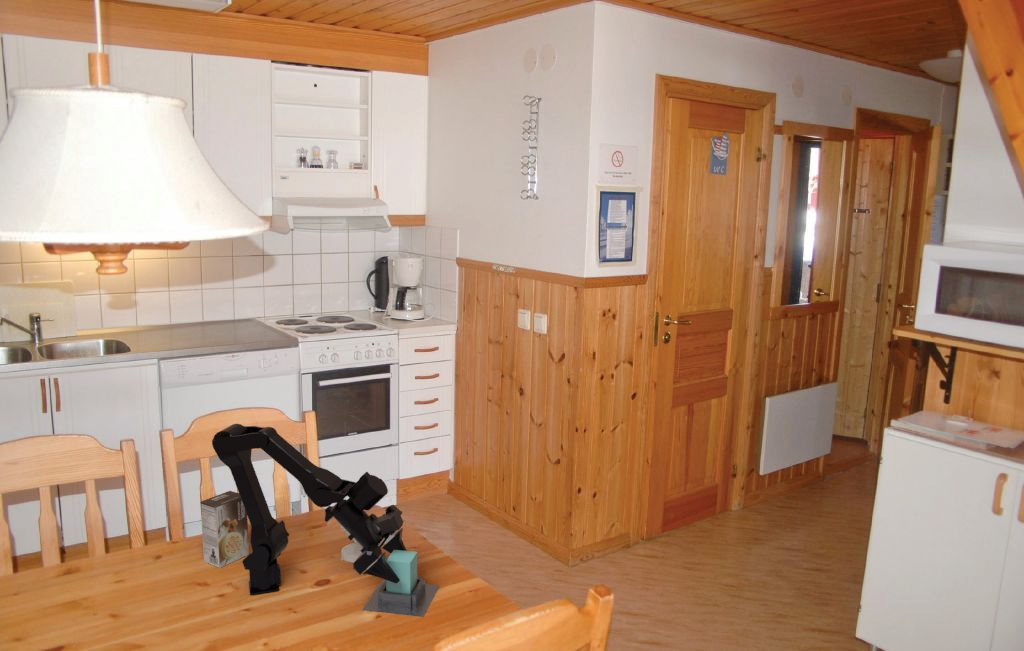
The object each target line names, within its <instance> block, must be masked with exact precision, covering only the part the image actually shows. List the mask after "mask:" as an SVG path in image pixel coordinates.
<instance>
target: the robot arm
mask: <svg viewBox="0 0 1024 651" xmlns="http://www.w3.org/2000/svg"><path fill="white" fill-rule="evenodd" d="M211 446H212V448H213V450H214V452H215V454H216V456H217V457H218V459H219V460H220V462H222V463H223V464H224V465H225V466H226V467H227V468H228V469H229V470H230V472H231V475H232V479H233V481H234V484H235V486H236V488H237V489H236V490H237V493H239V494H240V497H241V500H242V502H243V505H244V508H245V511H246V513H247V520H248V521H249V523H250V536H249V538H250V539H249V542H250V547H251V552H249V555H247V556H245V557H244V559H243V560H242V561H241V562H242V565H243V567H244V570H248V575H249V578H248V579H249V580H248V589H249V590H248V591H249V596H250V595H251V596H253V595H258V594H259V595H260V594H265V593H266V594H267V593H273V592H278V591H280V585H281V584H282V578H281V564H280V563H278V557H280V556H281V555H282V552H284V550H285V549H286V548H287V547H288V544H289V538H288V537H290V533H289V532H288V530H287V528H286V524H285V521H284V520H283V519H282V520H280V521H279V522H278V520H276V518H274V517H273V516H272V513H271V511H270V508H269V505H268V502H267V501H266V498H265V495H264V491H263V489H262V487H261V485H260V481H259V479H258V476H257V472H256V470H255V468H254V465H253V462H252V450H254V449H257V450H258V449H261V450H262V451H263V452H264V453H265V454H267V455H268V456H269V457H271V458H272V459H273V460H274V461H275V462H276V463H277V464H278V465H280V466H281V467H282V468H283V469H284V470H285V471H287V473H289V474H290V475H291V476H293V477H294V478H295V479H296V480H297V481H298V482H299V484H300V485H301V487H302V489H303V492H304V494H305V495H306V496H307V497H308V498H309V499H310V500H311V502H312V503H313V504H314V505H315V506H317V507H318V508H325V509H324V512H325V513H324V514H325V515H324V516H325V517H324V521H325V522H326V523H328V522H329V521H330V520H331V519H332V518H333V519H335V521H337V522H338V523H339V524H340V525H342V526H343V527H344V528H345V529H346V530H347V531H348V532H349V534H350V535H349V536H348V535H347V538H348V539H349V541H353V540H352V539H353V538H354V539H355V540H356V541H357V542H358V543H359V544H360V545H361V546H362V547H363V548H362V549H361V552H362V554H361V555H360V556H359V557H358V558H357V559H356V561H355V562H354V563H353V562H352V565H353V568H352V569H353V571H355V572H356V573H357V575H359V576H360V575H361V574H363V575H364V576H365V575H369V576H373V577H377V578H380V579H381V580H388V581H390V582H393V583H398V582H399V581H400V579H399V578H398V576H397V575H396V574H395V572H394V571H393V570H392V568H391V567H390V566H389V565H388V563H387V562H386V560H387V559H386V552H387V553H389V554H391V553H392V552H393V550H402V551H408V550H407V548H406V546H405V544H404V541H403V539H402V537H403V531H404V529H403V524H404V523H405V522H404V520H403V518H402V515H403V511H402V510H401V509H399V508H398V507H397V506H396V505H394V504H391V505H389V506H387V507H386V509H385V513H382V515H381V516H377V515H376V514H375V513H371V514H369V513H367V512H366V511H370V510H372V508H374V507H375V506H376V505H377V504H378V503H379V502H380V501H381V500H382V499H383V498H384V497H386V495H387V494H388V493H389V491H388V490H389V489H388V487H387V484H386V483H385V481H383V479H382V478H379V477H378V476H376V475H373V474H370V473H369V472H368V471H366V472H364V474H362V475H361V476H360V477H359V478H358V480H357V481H352V480H348V479H342V478H341V477H340V476H339V475H336V474H335V473H334V472H332V471H330V470H329V469H327V468H323V467H320V466H317V465H316V464H314V463H313V462H312V461H311V460H309V459H308V458H307V457H306V456H305V455H304V454H302V453H301V452H300V451H299V450H298V449H297V448H296V447H294V446H293V445H292V444H291V443H290V442H288V441H287V440H286V439H285V438H284V437H282V436H281V435H280V434H279V433H278V432H277V430H276V428H274V427H271V426H263V427H262V426H257V425H249V426H248V425H247V426H245V425H242V424H241V423H232V424H231V425H229V426H227V427H225V428H223V429H222V430H220V431H218V432H216V433H215V434H214V436H213V438H212V439H211ZM346 497H348V499H346ZM332 504H334V505H333V506H332ZM382 549H383V550H385V551H386V552H385V551H384V552H383V551H382Z"/></svg>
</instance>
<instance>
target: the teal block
mask: <svg viewBox="0 0 1024 651" xmlns="http://www.w3.org/2000/svg"><path fill="white" fill-rule="evenodd" d="M386 562H387V563H388V565H389V566H390V567H391V568H392V570H393V571H394V572H395V574H396V575H397V576H398V578H399V579H400V581H399V582H398V583H393V582H390V581H388V580H386V591H388V592H398V593H407V594H412V593H413V592H414V590H415V588H416V586H417V577H418V551H412V550H411V551H410V550H407V551H402V550H393V552H392V553H390V554H389V556H388V557H387V559H386Z"/></svg>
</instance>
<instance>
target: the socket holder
mask: <svg viewBox="0 0 1024 651" xmlns="http://www.w3.org/2000/svg"><path fill="white" fill-rule="evenodd" d="M440 586H441V585H437V584H427V583H426V578H422V577H420V576H419V577H418V576H417V586H416V588H415V590H414V592H413V593H412V594H407V593H398V592H388V591H386V580H385V579H381V582H380V583H378V586H377V587H376V588H375V590H374V591H373V593H372V594H371V596H370V597H369V599H368V600H367V602H366V603H365V604H364V606H363V608H362V609H361V611H363V612H364V611H365V612H374V613H384V614H393V615H402V616H408V617H409V616H411V617H418V618H419V617H420V618H424V617H425V615H426V613H427V611H428V609H429V607H430V606H431V604H432V602H433V601H434V598H435V597H436V594H437V592H438V590H439V589H440Z"/></svg>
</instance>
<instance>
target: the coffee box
mask: <svg viewBox="0 0 1024 651" xmlns="http://www.w3.org/2000/svg"><path fill="white" fill-rule="evenodd" d="M200 515H201V516H200V517H201V532H202V534H201V535H202V536H201V537H202V550H203V553H202V554H203V562H204V563H206V564H208V563H209V564H208V565H210V566H211V565H212V566H213V567H217V568H219V569H221V568H223V567H225V566H228V565H230V564H231V563H234V562H235V561H236V562H237V561H238V560H240V559H243V558H245V557H247V556H248V555H249V554H250V547H249V546H250V544H249V542H250V541H249V526H248V516H247V513H246V511H245V508H244V505H243V502H242V500H241V497H240V494H239V492H238V491H237V492H236V491H233V490H228V491H225V492H224V493H220V494H217V495H214V496H213V497H212V496H211V497H209V498H206V499H204V500H201V501H200ZM244 556H245V557H244Z"/></svg>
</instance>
